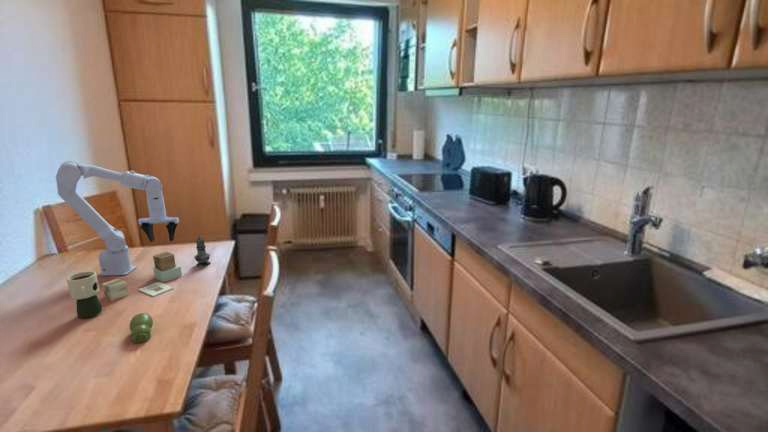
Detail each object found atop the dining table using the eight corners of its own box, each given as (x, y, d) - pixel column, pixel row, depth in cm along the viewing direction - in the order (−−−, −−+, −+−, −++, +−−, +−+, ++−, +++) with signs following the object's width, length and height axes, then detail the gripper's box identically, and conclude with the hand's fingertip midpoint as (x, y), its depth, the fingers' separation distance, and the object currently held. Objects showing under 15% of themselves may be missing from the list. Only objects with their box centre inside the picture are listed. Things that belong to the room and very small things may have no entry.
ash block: (104, 297, 133) (101, 283, 131) (120, 291, 137) (118, 278, 135) (112, 301, 130) (109, 287, 129) (128, 295, 134) (125, 281, 133)
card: (138, 290, 137) (138, 289, 137) (158, 282, 143) (158, 281, 143) (153, 296, 133) (153, 295, 133) (173, 288, 139) (173, 287, 138)
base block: (154, 277, 148) (152, 267, 147) (173, 271, 153) (172, 262, 152) (162, 282, 144) (160, 272, 143) (182, 276, 149) (180, 266, 148)
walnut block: (155, 268, 147) (153, 255, 145) (168, 263, 151) (166, 251, 149) (162, 271, 144) (160, 258, 143) (175, 266, 148) (173, 254, 147)
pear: (151, 307, 115) (150, 329, 107) (154, 322, 117) (153, 344, 109) (129, 311, 112) (126, 334, 104) (132, 326, 114) (129, 350, 106)
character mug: (104, 318, 119) (95, 279, 116) (74, 325, 116) (64, 285, 112) (104, 304, 128) (96, 266, 125) (77, 310, 124) (68, 272, 121)
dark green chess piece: (205, 267, 156) (201, 238, 153) (192, 266, 157) (187, 237, 154) (214, 262, 162) (210, 234, 158) (201, 260, 163) (197, 233, 160)
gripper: (131, 210, 151) (138, 244, 154) (171, 210, 152) (176, 243, 156) (141, 206, 157) (147, 238, 161) (179, 205, 159) (184, 237, 162)
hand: (162, 240), depth 159 cm, fingers open, 7 cm apart
